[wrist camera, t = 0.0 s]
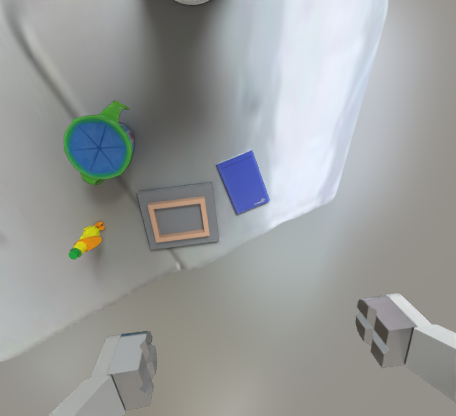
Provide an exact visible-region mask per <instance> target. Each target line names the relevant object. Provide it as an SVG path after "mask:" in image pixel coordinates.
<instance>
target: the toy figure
mask: <svg viewBox="0 0 456 416" xmlns="http://www.w3.org/2000/svg"><path fill="white" fill-rule="evenodd" d="M102 224H103V222H98V223H96V224H95V225H94V226H88V227H86V228H84V229H83V231H84V232H83V235H82V236H81V238H80V239H79V240H78V241H77V242H76V243H75V244H74V247H73V248H72V249H71V250H70V253H69V257H70V258H71V259H76V258H77V257H80V256H81V255H82V254H83V253H84V252H86V251H88V250H91V249H93V248H95V247H96V246H98V245H99V244H100V242H101V241H102V237H99V236H100V231H101V230H103V229H104V228H105V226H101V225H102ZM97 227H98V228H97Z"/></svg>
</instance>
